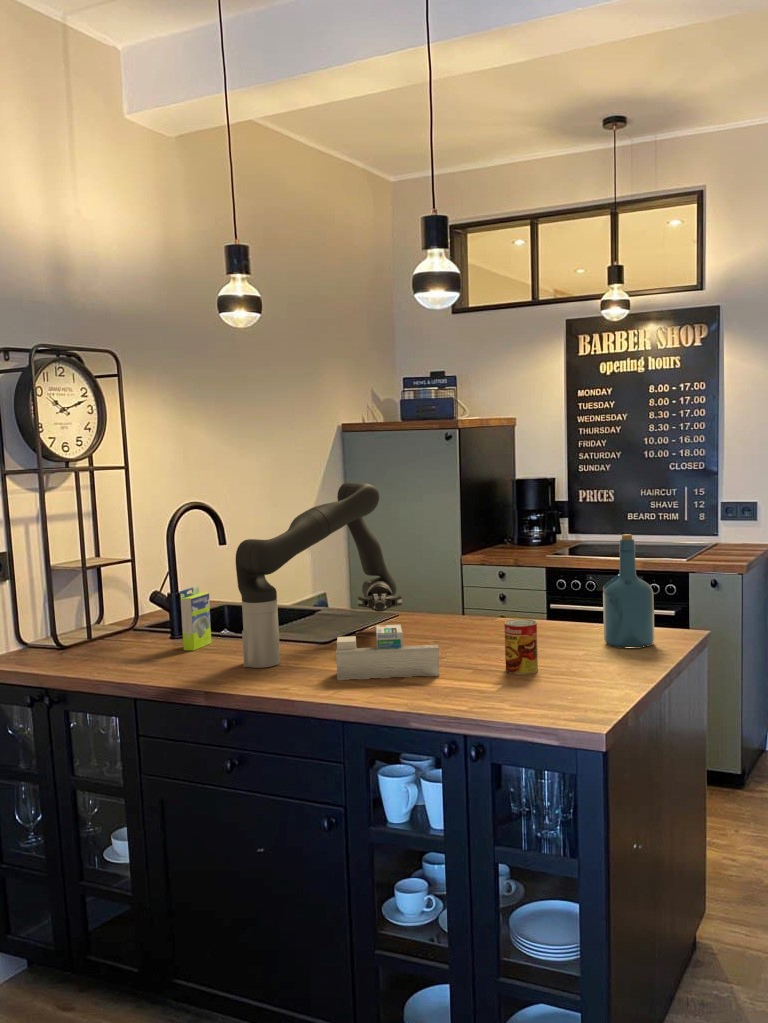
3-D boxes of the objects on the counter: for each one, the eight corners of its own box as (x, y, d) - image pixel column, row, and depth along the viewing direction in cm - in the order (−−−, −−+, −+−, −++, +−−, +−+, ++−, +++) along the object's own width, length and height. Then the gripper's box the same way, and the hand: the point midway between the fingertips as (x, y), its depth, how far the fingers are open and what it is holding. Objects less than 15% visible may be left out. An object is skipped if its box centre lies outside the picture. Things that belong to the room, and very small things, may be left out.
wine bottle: (663, 642, 247) (661, 533, 245) (639, 651, 237) (637, 538, 235) (618, 636, 256) (615, 531, 254) (593, 645, 247) (591, 535, 245)
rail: (337, 681, 220) (335, 652, 219) (338, 672, 229) (337, 643, 228) (439, 677, 220) (438, 647, 219) (437, 667, 229) (436, 639, 229)
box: (194, 651, 260) (190, 591, 258) (181, 650, 261) (178, 591, 260) (212, 643, 270) (209, 585, 268) (200, 642, 271) (197, 585, 270)
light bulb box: (405, 675, 223) (403, 632, 223) (378, 676, 223) (376, 633, 223) (403, 664, 234) (401, 623, 233) (377, 665, 234) (375, 624, 233)
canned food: (500, 668, 226) (498, 621, 225) (527, 664, 229) (526, 618, 228) (515, 676, 218) (514, 626, 218) (544, 671, 221) (542, 623, 220)
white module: (338, 678, 223) (336, 642, 222) (339, 671, 229) (337, 636, 229) (357, 677, 223) (355, 641, 222) (357, 670, 229) (355, 635, 229)
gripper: (356, 584, 264) (355, 592, 247) (401, 583, 264) (403, 591, 247) (357, 609, 265) (356, 620, 247) (402, 608, 265) (404, 619, 247)
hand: (380, 606), depth 247 cm, fingers closed
